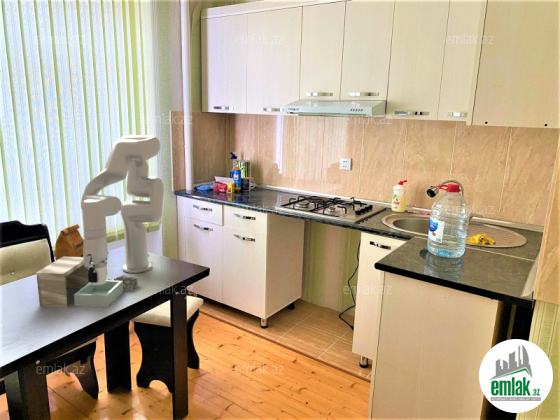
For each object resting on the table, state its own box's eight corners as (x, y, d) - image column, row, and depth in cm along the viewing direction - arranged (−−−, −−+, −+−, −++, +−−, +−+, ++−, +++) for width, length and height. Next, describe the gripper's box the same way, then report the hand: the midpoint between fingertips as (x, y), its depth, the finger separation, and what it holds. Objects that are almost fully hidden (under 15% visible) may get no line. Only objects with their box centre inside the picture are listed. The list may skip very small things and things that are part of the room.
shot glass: (84, 284, 152) (82, 267, 151) (95, 278, 159) (94, 261, 157) (100, 286, 151) (99, 268, 149) (111, 280, 157) (110, 262, 156)
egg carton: (107, 288, 166) (106, 279, 165) (120, 281, 173) (119, 272, 172) (128, 293, 162) (127, 283, 162) (141, 286, 169) (140, 276, 168)
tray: (94, 289, 164) (93, 279, 163) (123, 291, 163) (122, 280, 162) (75, 305, 150) (74, 294, 149) (107, 307, 150) (106, 296, 149)
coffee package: (93, 271, 182) (90, 224, 177) (74, 282, 170) (70, 231, 165) (74, 269, 184) (69, 222, 179) (53, 280, 172) (48, 229, 167)
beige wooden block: (66, 286, 166) (63, 256, 163) (90, 288, 165) (87, 257, 162) (39, 305, 149) (36, 272, 146) (66, 307, 149) (63, 273, 146)
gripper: (96, 226, 159) (99, 270, 163) (72, 238, 142) (75, 287, 146) (115, 227, 159) (118, 270, 163) (93, 239, 142) (96, 288, 146)
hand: (98, 278), depth 154 cm, fingers closed on shot glass, 6 cm apart
